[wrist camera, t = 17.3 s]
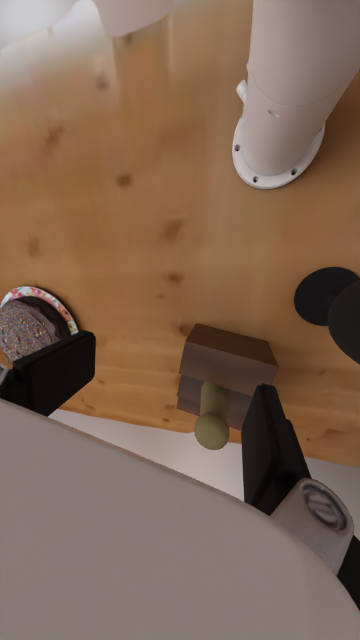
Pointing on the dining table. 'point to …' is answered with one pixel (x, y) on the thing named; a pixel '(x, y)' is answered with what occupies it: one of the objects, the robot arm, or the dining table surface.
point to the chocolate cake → (32, 322)
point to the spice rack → (224, 369)
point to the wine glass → (333, 306)
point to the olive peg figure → (213, 416)
